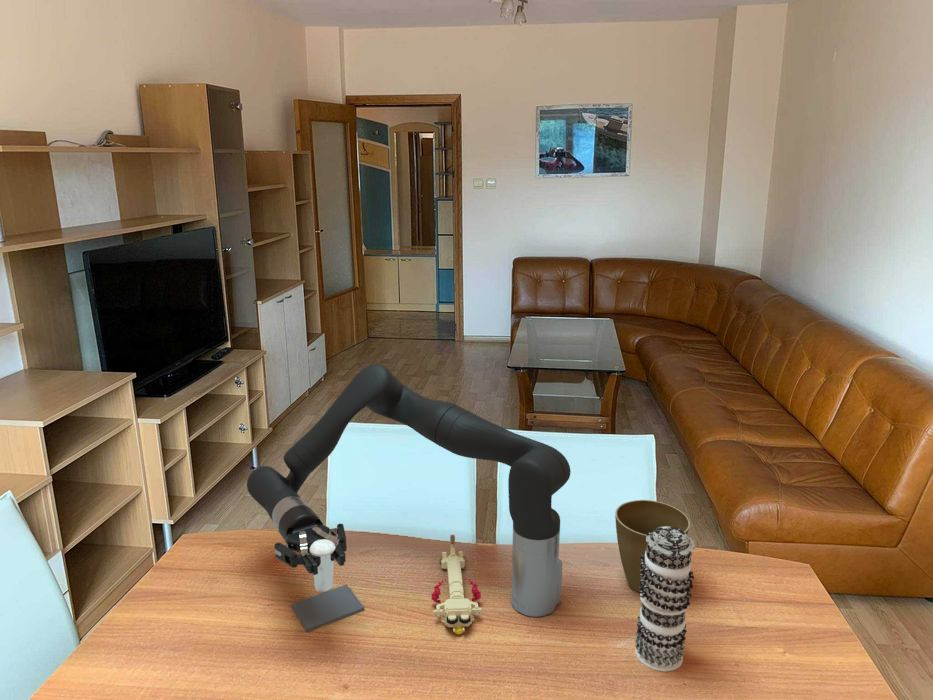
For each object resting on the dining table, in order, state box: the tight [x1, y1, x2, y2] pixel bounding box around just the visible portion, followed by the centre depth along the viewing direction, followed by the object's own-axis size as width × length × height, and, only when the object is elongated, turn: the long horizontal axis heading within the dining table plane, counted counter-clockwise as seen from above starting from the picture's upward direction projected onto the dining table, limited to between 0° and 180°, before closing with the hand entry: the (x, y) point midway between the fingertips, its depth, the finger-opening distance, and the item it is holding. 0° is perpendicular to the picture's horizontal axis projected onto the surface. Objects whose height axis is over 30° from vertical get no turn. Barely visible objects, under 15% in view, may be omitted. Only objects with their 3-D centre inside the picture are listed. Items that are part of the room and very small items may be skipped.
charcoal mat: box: [290, 584, 365, 633], centre depth 136 cm, size 12×9×1 cm
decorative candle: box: [635, 526, 696, 673], centre depth 120 cm, size 9×9×25 cm
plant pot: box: [614, 499, 691, 593], centre depth 142 cm, size 15×15×16 cm
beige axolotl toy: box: [431, 534, 483, 635], centre depth 139 cm, size 10×9×25 cm
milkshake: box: [309, 539, 339, 593], centre depth 123 cm, size 4×5×10 cm
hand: (329, 565), depth 120 cm, fingers closed on milkshake, 4 cm apart
